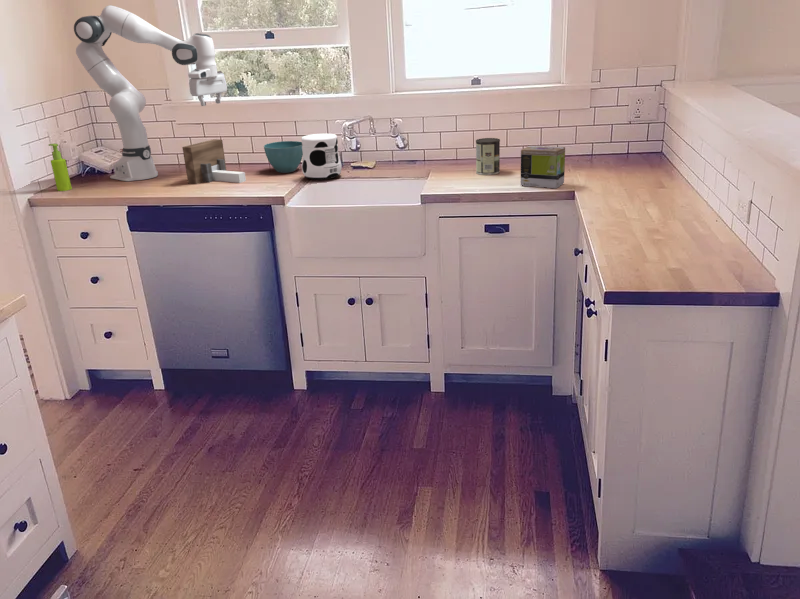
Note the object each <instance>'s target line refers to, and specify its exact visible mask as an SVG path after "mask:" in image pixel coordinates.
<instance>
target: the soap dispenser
mask: <svg viewBox="0 0 800 599" xmlns="http://www.w3.org/2000/svg"><path fill="white" fill-rule="evenodd" d="M48 146H51V147H52V150H53V151H52V152H51V154H52V159H51V160H50V164H51V169H52V173H53V176H54V180H55V186H56V190H57V191H58V192H66V191H70V190H72V189H73V188H72V184H71V179H70V175H69V170H68V166H67V160H66V158H63V156H62V153H61V151H60V150H59V149H58V146H59V143H49V144H48Z"/></svg>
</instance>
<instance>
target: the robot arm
mask: <svg viewBox="0 0 800 599" xmlns="http://www.w3.org/2000/svg"><path fill="white" fill-rule="evenodd" d="M73 32H74V34H75V36H76V37H77V38H78V40H79V41H80V43H79V44H78V45H77V46H76V48H75V54H76V56H77V59H78V60H79V61H80V63H81V65H82V66H83V67H84V69H85V71H87V73H88V74H89V76H90V77H91V78H92V80H93V81H94V82H95V84H96V85H97V87H99V88H100V89H102V91H105V93H107V94H108V95H109V96H110V97H111V98H110V100H109V103H108V107H109V110H110V112H111V114H113V116H114V119H115V122H116V123H117V126H118V129H119V133H120V136H121V142H122V148H120V149H119V150H120V151H119V152H120V153H121V157H120V158H119V159H118V160H117V161H116V162H115V164H114V165H113V166H114V169H113V170H114V173H113V174H112V175H110V176H109V178H110V179H112V180H117V181H118V180H119V181H121V182H133V181H141V180H148V179H153V178H156V177H158V173H159V172H158V170H157V168H156V166H155V162H154V158H153V156H152V155H151V154H152V150H151V146H150V145H149V139H148V135H147V129H146V126H144V125H145V124H143V122H142V119H141V115H140V113H141V112H142V111H143V110H144V108H145V107H146V103H147V101H146V97H145V95H144V94H143V93H142V91H139V90H138V89H137V88H136V87H135V86H134V85H133V84H132V83H131V82H130V81H129V80H128V79H127V78H126V77H125V76H124V75H123V74H122V73H121V72H120V71H119V69H118V68H117V67H116V65H115V64H114V62H112V60H111V59H110V58H109V56H108V55H107V54H106V53H105V51H104V49H103V47H105V45H106V43H107V42H108V40H110V38H111V35H112V34H115V35H118V36H119V37H121V38H123V39H126V40H128V41H130V42H134V43H138V44H151V45H156V46H159V47H161V48H164V49H166V50H168V51H170V52H171V56H172V59H173V60H174V62H175V63H176V64H178V65H181V66H191V65H195V68H194V69H193V70H191V71H190V72H188V73H187V74H188V78H189V82H188V85H189V92H190V93H189V94H190V95H191V96H192V97H197V99H198V101H199V102H200V106H201V107H206V106H207V101H205V100H204V97H205V96H207V95H208V96H209V95H216V98H215V104H216V105H217V104H221V103H222V102H221V99H222V96H223V93H226V92H227V91H228V86H227V85H228V84H227V81H226V78H225V74H224V72H222V71H221V70H218V65H217V63H216V48H215V43H214V40H213V38H212V37H211V36H210V35H209V34H206V33H199V32H197V33H196V32H195V33H194V34H193V35H191V36H190V37H189V38H186V39H185V40H183V39H180V38H178V37H175V36H174V35H171V34H170V33H168V32H164V31H162V30H161V29H159V28H157V27H156V26H155V25H152V24H151V23H150V22H148V21H146V20H145V19H143V18H142V17H140V16H138V15H137V14H135V13H133V12H131V11H129V10H127V9H124V8H121V7H119V6H115V5H111V4H110V5H106V6H105V7H104V8H103V9H102V11H101V13H100V15H87V16H81V17H79V18H78V19H77V20H76V21H75V23H74V25H73Z"/></svg>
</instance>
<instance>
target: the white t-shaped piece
mask: <svg viewBox="0 0 800 599" xmlns="http://www.w3.org/2000/svg"><path fill="white" fill-rule="evenodd" d="M211 168H212V175H213V181H212V182H225V183H236V184H241V183H244V182H247V178H246V172H245V171H233V170H227V171H223V170H220V169H219V165H214V166H211Z"/></svg>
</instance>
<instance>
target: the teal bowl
mask: <svg viewBox="0 0 800 599" xmlns="http://www.w3.org/2000/svg"><path fill="white" fill-rule="evenodd" d="M263 149H264V154H265V156H266V159H267V160H268V163H269V164H270V165H271V167H272V168H273V169H274V170H275V171H276V172H277V173H281V174H285V173H286V174H287V173H292V172H295V171H296V170H297V169H298V167H299V166H300V163H301V162H302V160H303V151H302V141H299V140H298V141H297V140H283V141H282V140H281V141H275V142H269V143H266V144H264V145H263Z"/></svg>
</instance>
